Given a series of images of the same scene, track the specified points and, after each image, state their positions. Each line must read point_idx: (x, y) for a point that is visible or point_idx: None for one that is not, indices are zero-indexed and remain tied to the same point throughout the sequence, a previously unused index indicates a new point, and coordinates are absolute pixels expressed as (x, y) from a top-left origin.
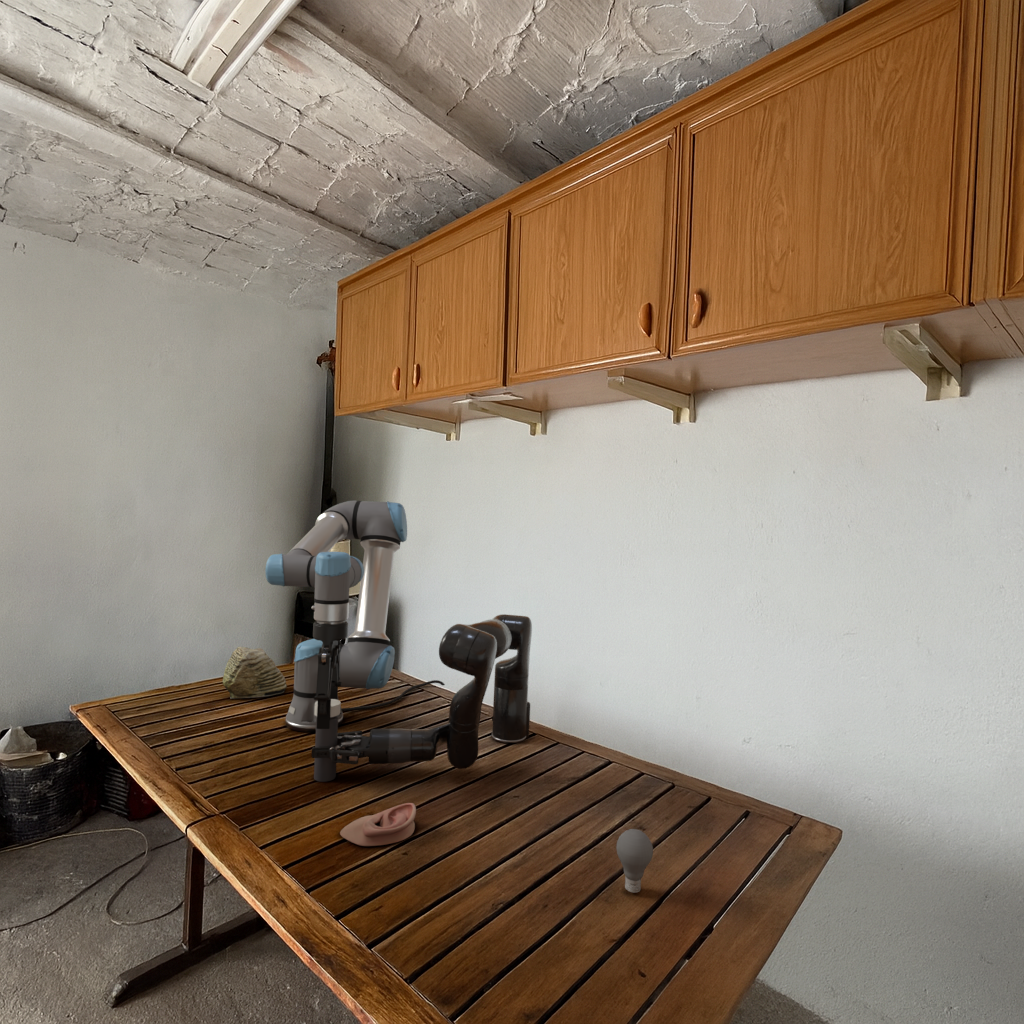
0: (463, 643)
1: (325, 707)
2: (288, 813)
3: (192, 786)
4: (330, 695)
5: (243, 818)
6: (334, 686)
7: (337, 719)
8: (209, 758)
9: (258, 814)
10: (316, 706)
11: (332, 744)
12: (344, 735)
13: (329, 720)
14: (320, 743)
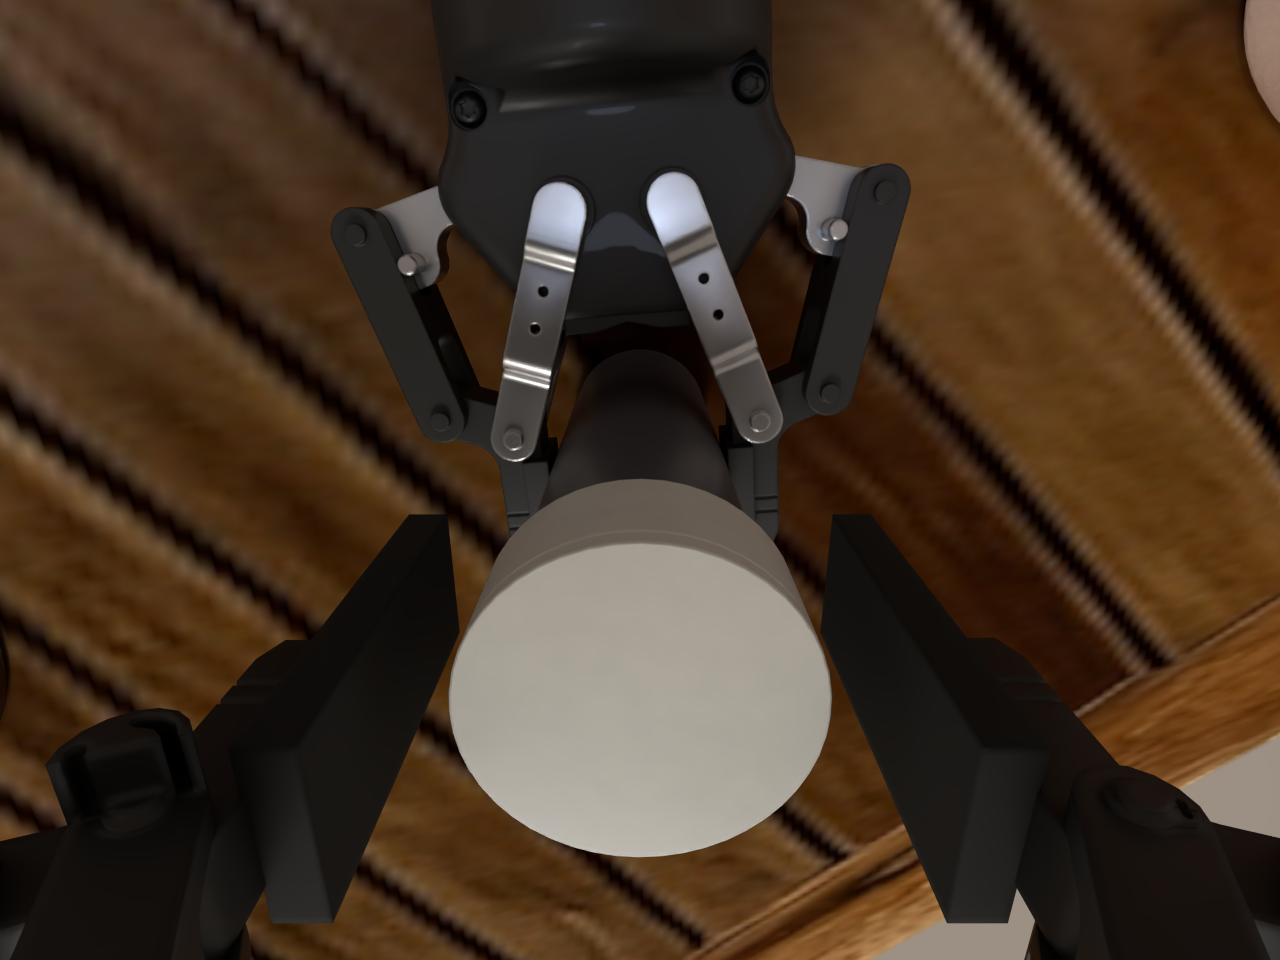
0: None
1: (1072, 720)
2: (1057, 508)
3: (730, 926)
4: (372, 744)
5: (1062, 680)
6: (235, 812)
7: (664, 477)
8: (446, 952)
9: (1037, 633)
10: (757, 810)
11: (705, 432)
12: (525, 362)
13: (904, 558)
14: None
